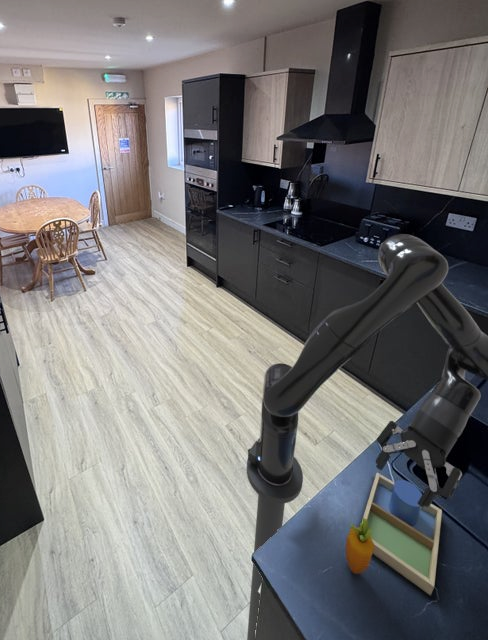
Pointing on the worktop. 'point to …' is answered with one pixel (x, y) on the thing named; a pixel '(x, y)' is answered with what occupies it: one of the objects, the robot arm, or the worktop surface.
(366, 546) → the carrot
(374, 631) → the worktop surface
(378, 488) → the sorting tray
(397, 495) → the blue cylinder
